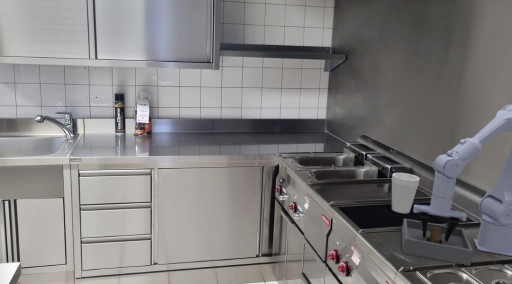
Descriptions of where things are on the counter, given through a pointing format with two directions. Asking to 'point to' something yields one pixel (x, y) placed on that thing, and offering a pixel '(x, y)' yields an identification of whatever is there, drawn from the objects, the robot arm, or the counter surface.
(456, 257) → the box
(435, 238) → the peg
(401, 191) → the foam cup
